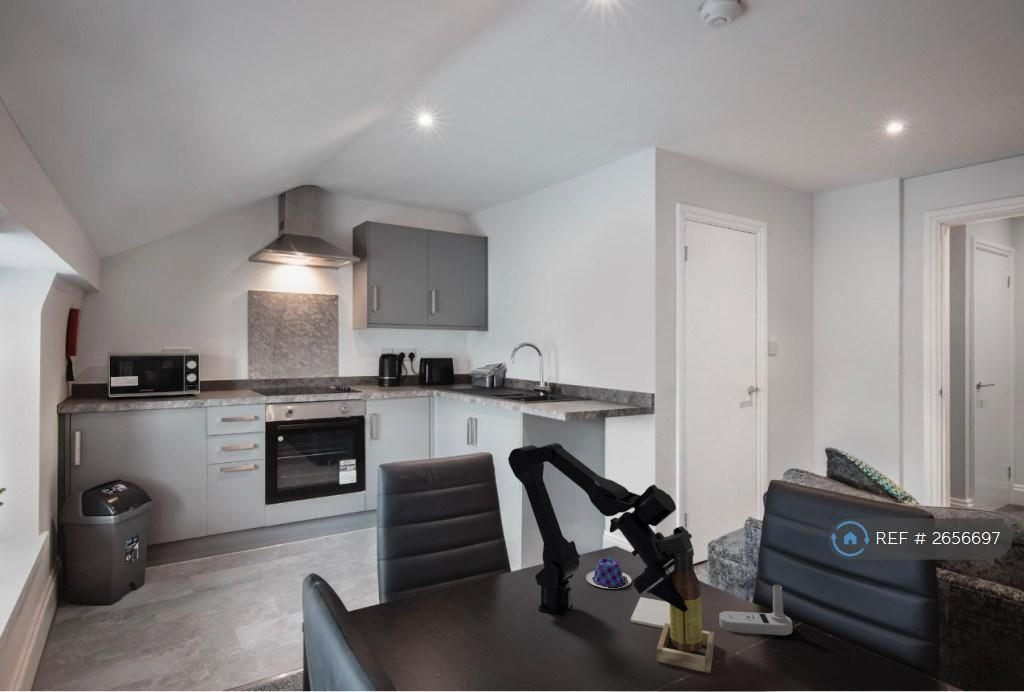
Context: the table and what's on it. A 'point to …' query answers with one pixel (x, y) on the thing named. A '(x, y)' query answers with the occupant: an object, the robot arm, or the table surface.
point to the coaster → (651, 613)
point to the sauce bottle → (689, 622)
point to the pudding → (608, 574)
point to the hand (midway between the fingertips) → (692, 604)
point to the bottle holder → (683, 657)
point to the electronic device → (759, 619)
